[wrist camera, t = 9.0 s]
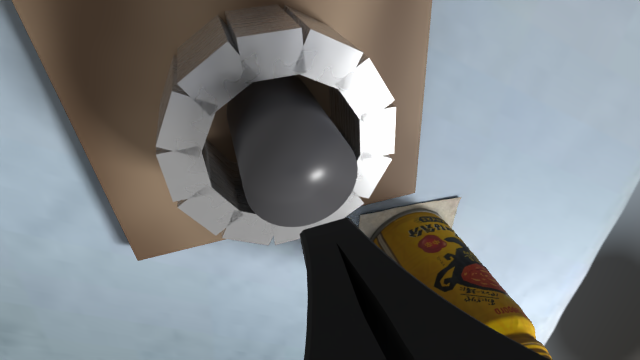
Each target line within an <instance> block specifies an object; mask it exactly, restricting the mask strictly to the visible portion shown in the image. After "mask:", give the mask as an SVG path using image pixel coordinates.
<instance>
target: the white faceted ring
mask: <svg viewBox="0 0 640 360" xmlns="http://www.w3.org/2000/svg"><path fill="white" fill-rule="evenodd" d="M225 15H226V20H227V25H228V26H227V25H226V24H225V23H224V21H223V20H222V19H221V18H220V17H219V15H216V16H215V17H214V18H213V19H212V20H210V21H209V22H208V23H207V24H206V25H205V26H203V27H202V28H201V29H200V30H199V31H198V32H196V33H195V34H194V35H193V36H192V37H190V38H189V39H188V40H187V41H186V42H185V43H183V44H182V45H181V46H180V47H179V48H177V56H176V55H173V58H172V62H171V65H170V69H169V72H168V76H167V79H166V83H165V86H164V90H163V93H162V97H161V100H160V107H159V117H158V127H157V137H156V156H157V159H158V162H159V165H160V167H161V170H162V173H163V176H164V178H165V181H166V184H167V187H168V189H169V192H170V195H171V198H172V200H173V202H175V201H177V208H179V209H180V210H181V211H183V212H184V213H186V214H187V215H188V216H190V217H191V218H192V219H194V220H195V221H196V222H198V223H199V224H201V225H202V226H203V227H205V228H206V229H207V230H209V231H210V232H211V233H213V234H214V235H217V234H219V233H220V232H221V234H222V238H224V239H231V240H237V241H244V242H250V243H257V244H263V245H269V244H270V242H271V240H272V238H274V242H275V245H277V244H281V243H285V242H289V241H293V240H297V239H300V233H301V232H302V231H303V230H305V229H308V228H312V227H315V226H319V225H320V224H321V225H322V224H325V223H329V222H332V221H336V220H339V219H343V218H345V217H346V216H348V215H349V214H350V213H352V212H353V211H354V210H356V209H357V208H359V207H360V206H361V205H363V204H364V202H363V201H362V199H361V197H364V198H368V199H369V197H370V195H371V194H372V192H373V190H374V189H375V187H376V185H377V184H378V182H379V180H380V179H381V177H382V175H383V174H384V172H385V170H386V168H387V167H388V165H389V163H390V162H391V160H392V159H391V157H390V156H389V155H388V154H391V153H394V141H395V119H396V106H395V105H393V104H392V102H393V101H394V99H393V97H392V95H391V94H390V92H389V90H388V89H387V87H386V85H385V83H384V82H383V80H382V78H381V77H380V75H379V73H378V72H377V70H376V68H375V67H374V65H373V63H372V62H371V60H370V58H369V57H368V56H366V55H365V54H364V53H363V52H362V51H361V50H359V49H358V48H357V47H356V46H354V45H353V44H352V43H350V42H349V41H348V40H347V39H345V38H344V37H343V36H342V35H340V34H339V33H338V32H336V31H335V30H334V29H333V28H331V27H330V26H328V25H326V24H324V23H322V22H320V21H318V20H316V19H313V18H311V17H309V16H307V15H305V14H303V13H300V12H298V11H296V10H294V9H292V8H290V7H287V6H285V5H284V8H283V9H282V8H281V7H280V6H279V5H278V4H274V5H267V6H260V7H252V8H245V9H238V10H230V11H225ZM297 74H300V75H302V76H305V77H308V78H310V79H313V80H315V81H318V82H321V83H323V84H326V85H329V95H330V112H331V115H330V117H329V118H330V120H331V121H332V122H333V124H334V125H335V126H336V128H337V129H338V131H339V132H340V133H341V135H342V136H343V137H344V139H345V140H346V142H347V143H348V144H349V146H350V147H351V149H352V150H353V152H354V154H355V157H356V161H357V167H358V172H357V179H356V183H355V186H354V189H353V191H352V193H351V194H350V196H349V197H348V199H347V200H346V201H345V203H344V204H343V205H342V206H341V207H340V208H339V209H338V210H337V211H335V212H334V213H333V214H331V215H330V216H328V217H327V218H325V219H323V220H321V221H319V222H316V223H313V224H310V225H306V226H301V227H283V226H278V225H274V224H271V223H269V222H267V221H265V220H263V219H262V218H260V217H259V216H258V215H256V213H255V212H254V211H253V210H252V209H251V207H250V206H249V204H248V202H247V200H246V197H245V193H244V189H243V184H242V180H241V176H240V171H239V167H238V163H235V162H231V161H229V160H228V159H227V158H226V157H225V156H224V155H223V154H222V153H221V152H219V151H218V150H217V149H216V148H215V147H214V146H213V145H212V144H211V143H210V142H209V141H208V140H206V138H207V135H208V132H209V129H210V127H211V124H212V121H213V118H214V115H215V113H216V111H217V110H219V109H220V108H221V107H222V106H224V105H225V104H226V103H227V102H229V101H230V100H231V99H232V98H233V97H235V96H236V95H237V94H238V93H240V92H241V91H242V90H243V89H245V88H246V87H247V86H248V85H250V84H251V83H252V82H257V81H262V80H268V79H274V78H280V77H286V76H291V75H297Z"/></svg>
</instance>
